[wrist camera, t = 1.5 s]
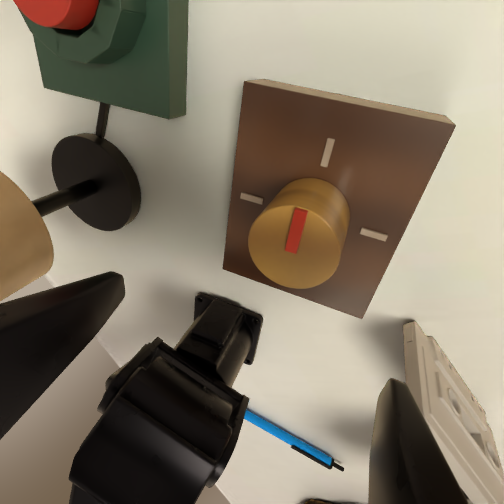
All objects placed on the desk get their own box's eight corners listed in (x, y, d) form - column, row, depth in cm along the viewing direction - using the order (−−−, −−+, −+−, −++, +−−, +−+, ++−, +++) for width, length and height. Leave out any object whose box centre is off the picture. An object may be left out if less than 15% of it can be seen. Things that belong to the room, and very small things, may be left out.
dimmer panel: (364, 292, 22) (361, 321, 20) (238, 249, 25) (221, 270, 22) (446, 115, 16) (457, 125, 13) (263, 78, 18) (242, 80, 15)
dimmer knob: (336, 258, 19) (323, 305, 15) (267, 236, 20) (240, 275, 16) (361, 190, 16) (353, 225, 12) (281, 168, 17) (252, 196, 13)
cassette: (395, 323, 23) (397, 418, 17) (421, 315, 22) (433, 414, 16) (472, 431, 25) (499, 549, 19) (499, 429, 24) (536, 553, 18)
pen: (341, 466, 34) (340, 477, 33) (190, 381, 36) (185, 389, 36) (345, 463, 33) (344, 474, 32) (191, 377, 36) (186, 385, 35)
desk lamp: (143, 236, 28) (13, 327, 18) (72, 211, 30) (-81, 281, 20) (136, 105, 22) (-65, 137, 12) (46, 83, 24) (-190, 96, 14)
